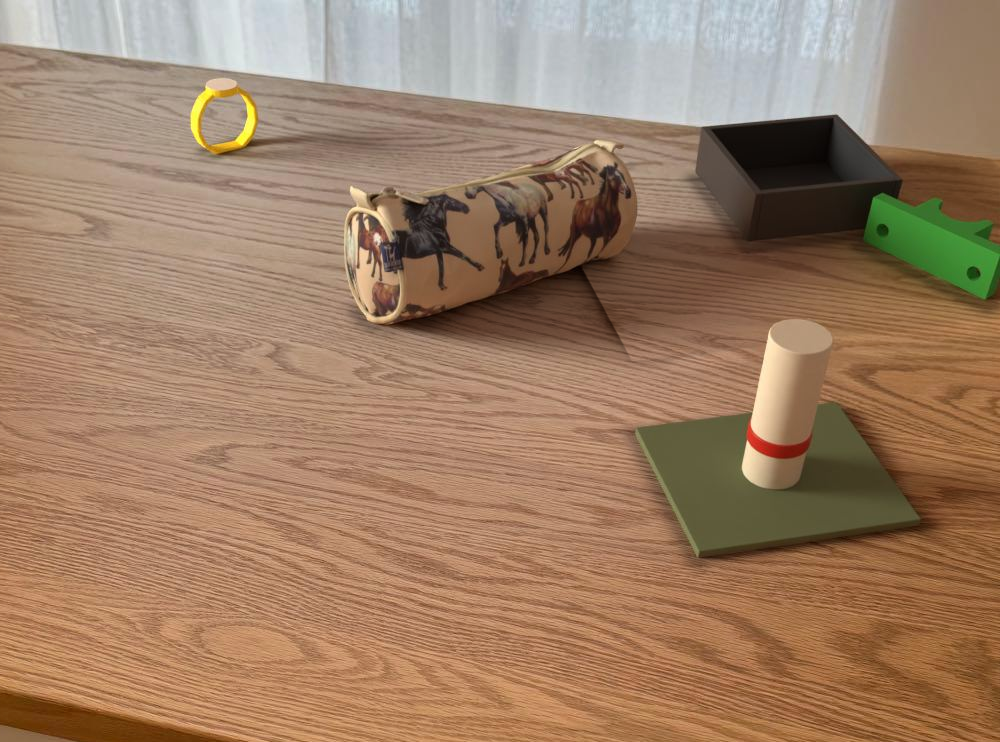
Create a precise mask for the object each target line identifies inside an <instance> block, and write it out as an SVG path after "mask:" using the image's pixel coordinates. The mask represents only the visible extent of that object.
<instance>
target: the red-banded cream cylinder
mask: <svg viewBox="0 0 1000 742" xmlns="http://www.w3.org/2000/svg"><path fill="white" fill-rule="evenodd" d="M833 346H834V336H833V334H832V332H831V331H830V330H829V329H828V328H827V327H825V326H823V325H821V324H820V323H818V322H815V321H812V320H808V319H802V318H801V319H800V318H788V319H783V320H780V321H778V322H777V321H776V323H774V324H773V325H772V326H771V327H770V329H769V331H768V336H767V340H766V345H765V350H764V356H763V360H762V366H761V370H760V373H759V379H758V384H757V389H756V393H755V399H754V405H753V409H752V413H753V414H752V417H751V419H750V421H749V425H748V430H747V443H746V448H745V453H744V458H743V463H742V471H743V474H744V476H745V477H746V478H747V479H748V480H749V481H750V482H752V483H753V484H755V485H757V486H759V487H762V488H766V489H772V490H780V489H786V488H789V487H792V486H793V485H795V484H796V483H797V482H798V481H799V479H800V476H801V472H802V468H803V464H804V460H805V456H806V452H807V450H808V448H809V446H810V443H811V439H812V435H813V430H812V427H813V423H814V419H815V415H816V411H817V407H818V404H820V399H821V394H822V390H823V387H824V382H825V378H826V375H827V370H828V366H829V362H830V358H831V354H832V350H833Z"/></svg>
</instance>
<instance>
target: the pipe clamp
mask: <svg viewBox="0 0 1000 742" xmlns="http://www.w3.org/2000/svg"><path fill="white" fill-rule="evenodd" d="M943 204H944V200H943V199H940V198H938V197H933V198H931V199H928V200H927V201H925V202H923V203H920V204H918V205H916V206H912V205H910V204H908V203H906V202H904V201H902V200H900V199H898V200H897V199H895V198H893V197H890V196H888V195H886V194H884V193H881V194H879V195H877V196H875V197H873V201H872V205H871V209H870V213H869V217H868V221H867V225H866V229H864V233H863V237H862V241H863V242H865V243H866V244H869V245H870V246H873V247H874V248H875V247H876V248H877V249H879V250H881V251H883V252H885V253H887V254H890V255H891V256H894V257H895V258H897V259H900V260H901V261H903V262H906V263H908V264H910V265H912V266H914V267H917V268H919V269H921V270H923V271H925V272H927V273H928V274H931V275H933V276H935V277H937V278H940V279H941V280H943V281H945V282H947V283H949V284H952V285H954V286H956V287H958V288H960V289H962V290H963V291H966V292H968V293H970V294H972V295H975V296H976V297H978V298H980V299H983V300H985V301H986V300H988V299H989V298H991V297H993V296H995V293H996V290H997V288H998V284H999V281H1000V245H999V244H997V243H995V242H993V241H990V237H991V235H992V231H993V228H994V225H995V223H994V222H992V221H990V220H989V219H983V220H979V221H964V220H958V219H955V218H952V217H950V216H948V215H946V214H945V213H943V212H942V211H941V210H942V207H943ZM885 225H886V226H887V227H885ZM977 270H978V271H979V273H980V274H979V273H978V272H977Z"/></svg>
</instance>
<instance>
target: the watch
mask: <svg viewBox="0 0 1000 742" xmlns="http://www.w3.org/2000/svg"><path fill="white" fill-rule="evenodd" d="M238 94H239V95H240V96H241V98H242V99H243V100H244V102H245V104H246V110H247V111H246V112H247V119H246V122H245V125H244V128H243V131H241V133H240V134H239V135H238V137H236V138H235V140H231V141H226V142H222V143H217V144H212V145H210V144H209V143H207V141H206V139H205V137H204V134H203V132H202V118H203V115H204V113H205V111H206V109H207V107H208V105H209V104H210V103H211V102H212V101H213V100H214V99H215V98H220V99H225V98H226V99H227V98H231V97H234V96H236V95H238ZM258 125H259V113H258V106H257V104H256V102H255V100H254V99H253V98H252V96H251V95H250V93H248V92H247V91H246V90H244V89H243V88H241V87H240V86H239V84H238V82H237V81H236V80H235V79H232V78H227V77H218V78H212V79H209V80H208V81H206V82H205V90H204V91H203V92H201V94H199V96H197V98H196V100H195V101H194V104H193V106H192V109H191V113H190V129H191V132H192V134H193V137H194V138H195V140H196V142H197V143H198V144H199V145H200V146H202V147H203V148H204V149H206V150H207V151H209V152H210V153H212V154H214V155H219V154H223V153H224V154H225V153H227V152H231V151H236V150H239V149H243V148H245V147H247V145H248V144H249V143H250V142H251V140H253V138H254V136H255V134H256V131H257V127H258Z"/></svg>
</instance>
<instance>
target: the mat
mask: <svg viewBox="0 0 1000 742" xmlns="http://www.w3.org/2000/svg"><path fill="white" fill-rule="evenodd" d="M752 414H753V412H748V413H739V414H733V415H724V416H717V417H708V418H701V419H693V420H685V421H678V422H671V423H670V422H669V423H661V424H653V425H647V426H646V425H645V426H637V427H635V432H634V435H635V437H636V439H637V441H638V443H639V445H640V447H641V449H642V451H643V453H644V455H645V457H646V459H647V461H648V462H649V465H650V467H651V469H652V471H653V473H654V475H655V477H656V479H657V480H658V482H659V484H660V486H661V488H662V491H663V492H664V494H665V496H666V498H667V500H668V502H669V504H670V507H671V508H672V510H673V512H674V514H675V516H676V518H677V520H678V522H679V525H680V526H681V528H682V530H683V532H684V534H685V536H686V538H687V540H688V542H689V544H690V545H691V548H692V550H693V552H694V553H695V556H696V557H697V559H700V558H706V557H714V556H721V555H729V554H736V553H742V552H748V551H755V550H762V549H770V548H776V547H782V546H789V545H797V544H803V543H810V542H816V541H823V540H830V539H837V538H844V537H851V536H857V535H863V534H864V535H865V534H871V533H872V534H873V533H878V532H885V531H891V530H899V529H905V528H911V527H912V528H913V527H917V526H918V527H919V526H920V524H921V521H922V518H921V517H920V515H919V514H918V512H916V510H915V508H914V507H913V506H912V504H911V503H910V502H909V501H908V499H907V498H906V496H905V494H904V493H903V492H902V490H901V489H900V488H899V486H898V484H896V482H895V480H893V478H892V477H891V475H890V474H889V472H888V471H887V470H886V468H885V467H884V465H883V464H882V463H881V461H880V460H879V459H878V457H877V456H876V454H875V453H874V452H873V450H872V449H871V448H870V447H869V445H868V443H867V442H866V441H865V439H864V438H863V436H862V435H861V433H859V431H858V430H857V428H856V427H855V425H854V424H853V423H852V421H851V420H850V418H849V417H848V416H847V414H846V413H845V412H844V410H843V409H842V407H841V406H840V405H839V403H838V402H837V401H833V402H826V403H818V407H817V411H816V415H815V419H814V423H813V427H812V430H813V435H812V439H811V443H810V446H809V448H808V450H807V452H806V456H805V460H804V464H803V468H802V472H801V476H800V479H799V481H798V482H797V483H796V484H795V485H793V486H792V487H789V488H786V489H780V490H772V489H766V488H762V487H759V486H757V485H755V484H753V483H752V482H750V481H749V480H748V479H747V478H746V477H745V476H744V474H743V471H742V463H743V458H744V453H745V448H746V443H747V430H748V425H749V421H750V419H751V417H752Z"/></svg>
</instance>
